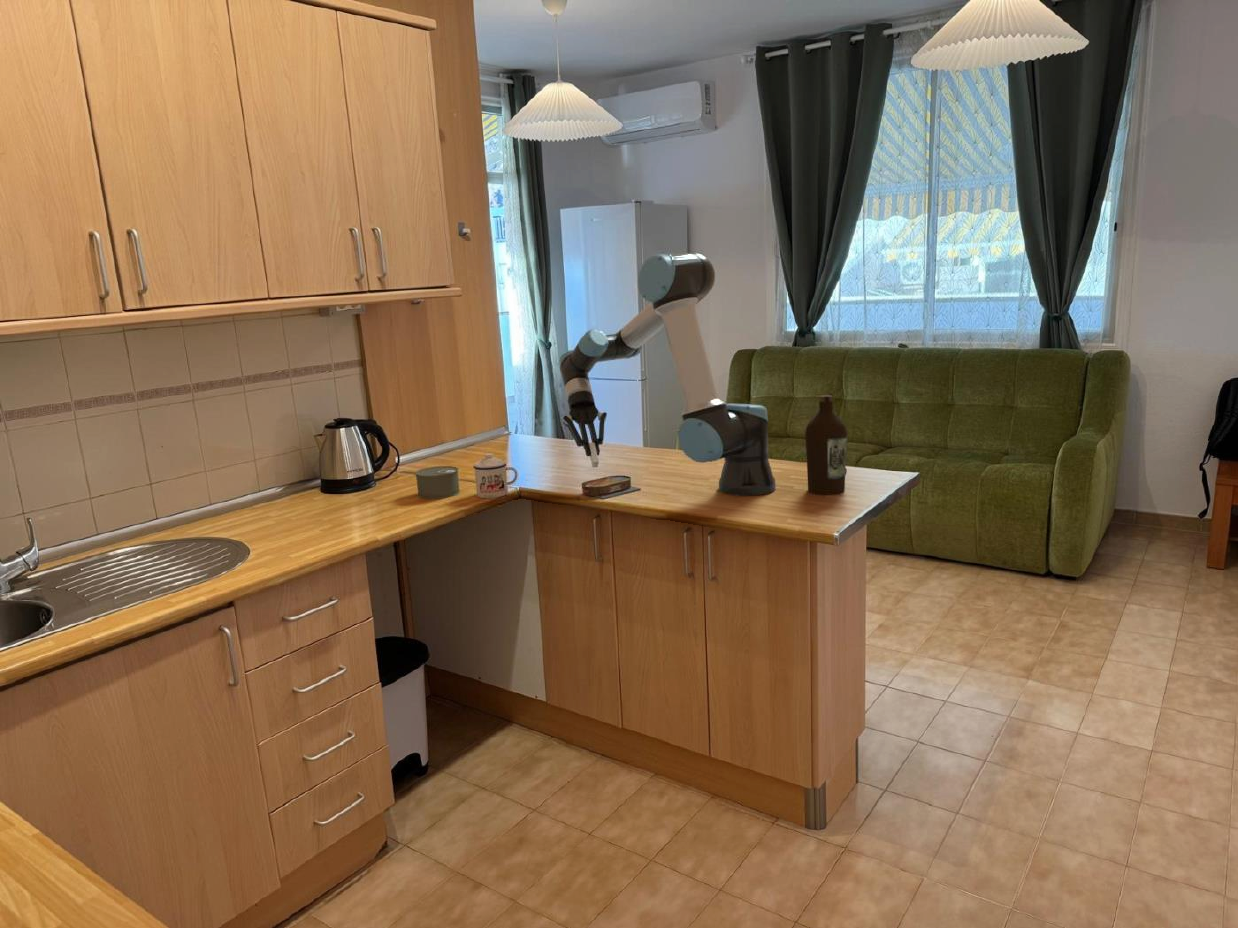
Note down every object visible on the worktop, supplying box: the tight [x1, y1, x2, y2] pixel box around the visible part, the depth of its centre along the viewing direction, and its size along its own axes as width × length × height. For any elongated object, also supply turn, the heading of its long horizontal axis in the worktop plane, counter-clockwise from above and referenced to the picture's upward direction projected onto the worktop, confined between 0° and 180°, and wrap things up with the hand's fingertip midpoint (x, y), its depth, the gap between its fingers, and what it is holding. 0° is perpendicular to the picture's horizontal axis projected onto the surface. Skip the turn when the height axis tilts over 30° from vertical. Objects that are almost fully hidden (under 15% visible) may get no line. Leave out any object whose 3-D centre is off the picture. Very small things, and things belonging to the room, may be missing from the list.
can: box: [415, 465, 461, 500], centre depth 248 cm, size 12×12×7 cm
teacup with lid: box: [473, 453, 519, 499], centre depth 243 cm, size 12×9×12 cm
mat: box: [585, 485, 642, 500], centre depth 240 cm, size 9×13×1 cm
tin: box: [581, 474, 632, 497], centre depth 240 cm, size 15×3×8 cm
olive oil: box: [804, 394, 848, 495], centre depth 226 cm, size 11×11×25 cm
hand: (595, 464), depth 241 cm, fingers closed
